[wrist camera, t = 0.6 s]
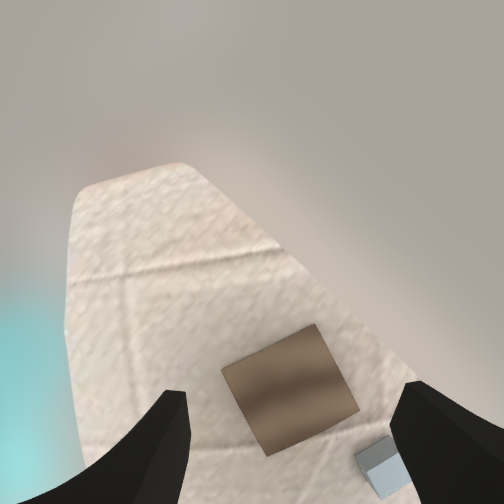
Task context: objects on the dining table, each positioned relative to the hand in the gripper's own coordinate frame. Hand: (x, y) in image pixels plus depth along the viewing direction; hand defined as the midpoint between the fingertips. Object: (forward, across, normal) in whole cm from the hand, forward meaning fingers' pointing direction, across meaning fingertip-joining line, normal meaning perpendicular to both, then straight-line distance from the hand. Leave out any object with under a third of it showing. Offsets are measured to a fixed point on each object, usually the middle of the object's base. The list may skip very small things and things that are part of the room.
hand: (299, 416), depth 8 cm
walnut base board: (+18, -3, +14) cm, 24 cm away
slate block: (+12, -14, +22) cm, 28 cm away
